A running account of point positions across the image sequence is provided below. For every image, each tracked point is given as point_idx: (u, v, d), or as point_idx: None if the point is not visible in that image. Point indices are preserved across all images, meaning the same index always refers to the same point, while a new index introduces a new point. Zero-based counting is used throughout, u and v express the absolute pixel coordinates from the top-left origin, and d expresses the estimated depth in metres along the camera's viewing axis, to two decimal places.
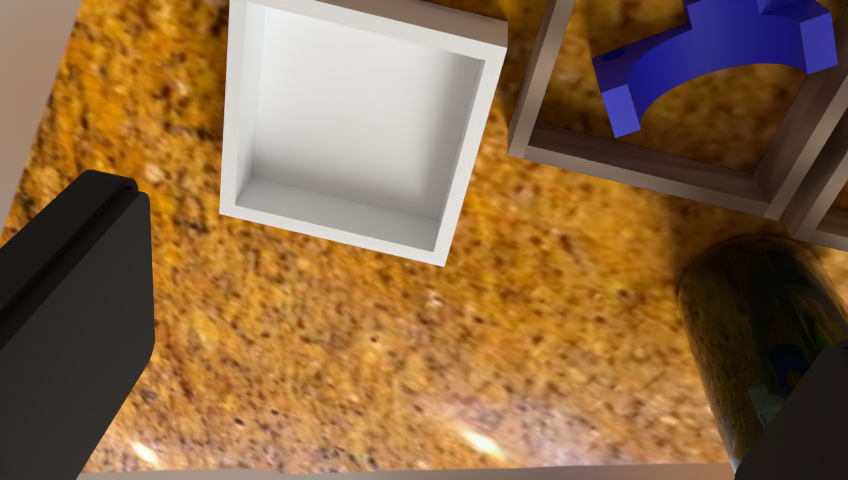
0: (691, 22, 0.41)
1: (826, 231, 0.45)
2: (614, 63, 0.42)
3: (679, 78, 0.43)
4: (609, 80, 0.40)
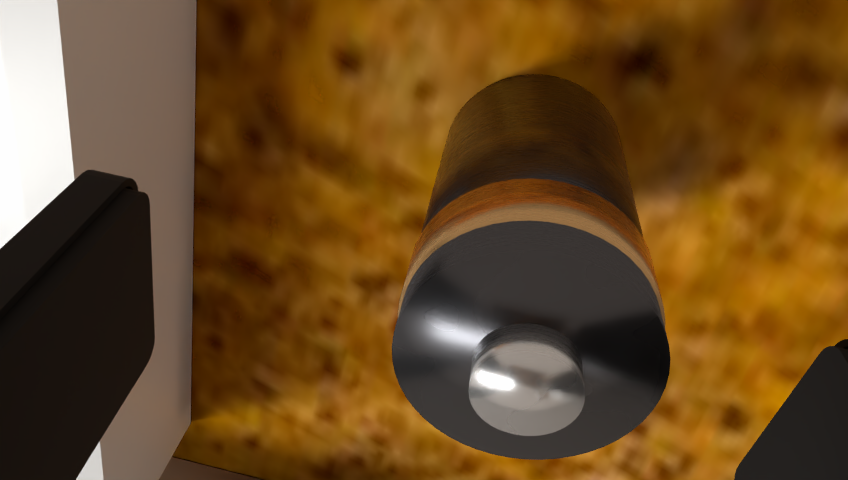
0: None
1: None
2: None
3: None
4: None
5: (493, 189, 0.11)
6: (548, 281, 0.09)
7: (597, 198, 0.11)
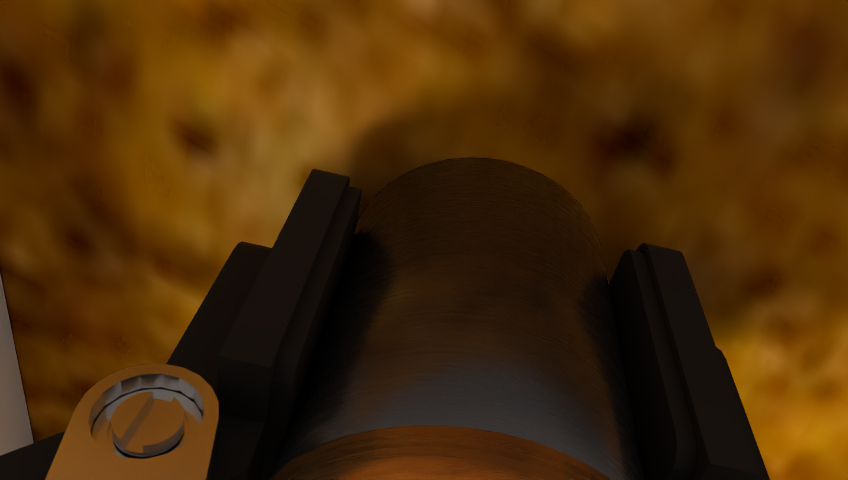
0: None
1: None
2: None
3: None
4: None
5: (370, 449, 0.06)
6: None
7: (562, 458, 0.06)
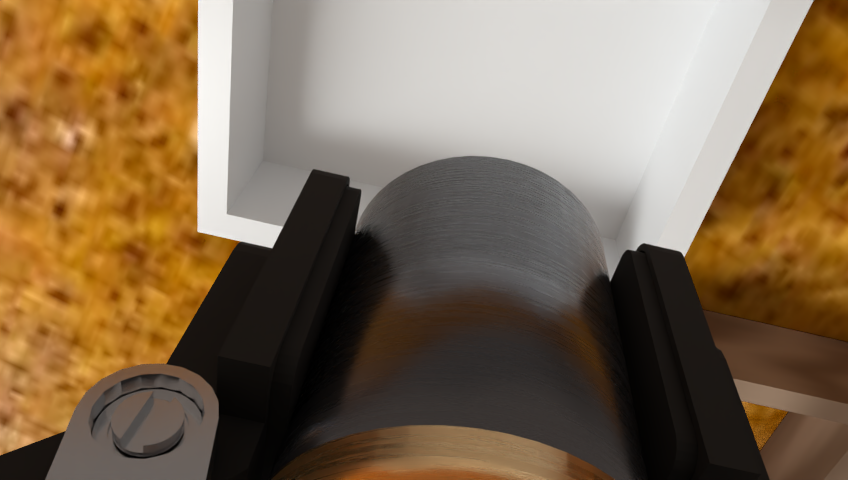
0: None
1: None
2: None
3: None
4: None
5: (372, 449, 0.06)
6: None
7: (565, 458, 0.06)
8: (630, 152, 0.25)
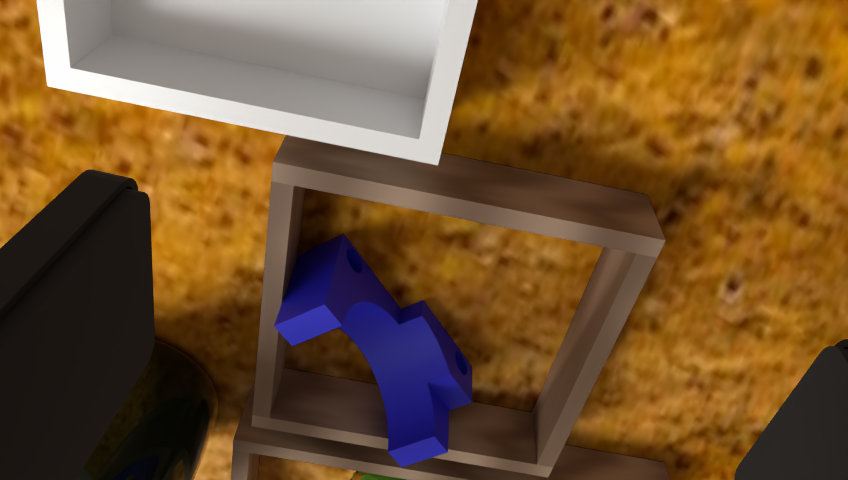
0: (405, 322, 0.39)
1: (248, 459, 0.43)
2: (350, 274, 0.36)
3: (346, 327, 0.39)
4: (336, 294, 0.34)
5: None
6: None
7: None
8: (424, 16, 0.29)
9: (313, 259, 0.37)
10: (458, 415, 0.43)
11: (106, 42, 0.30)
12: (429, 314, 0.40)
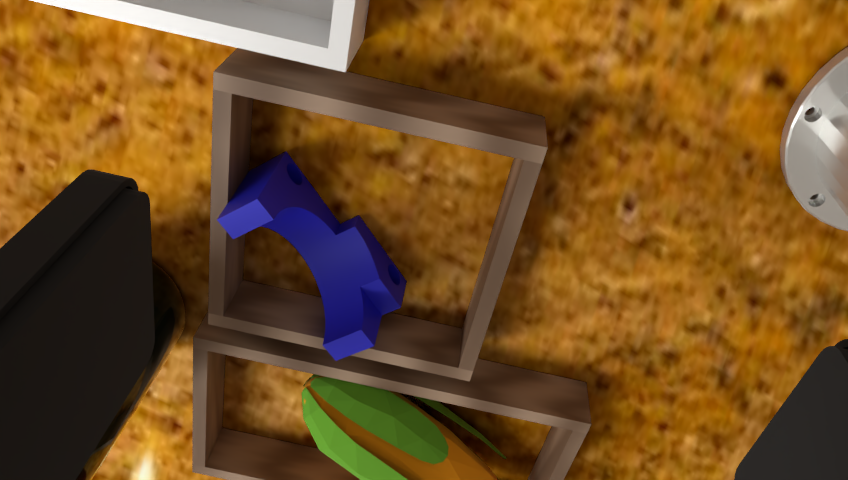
0: (341, 232, 0.44)
1: (207, 358, 0.48)
2: (288, 183, 0.42)
3: (290, 236, 0.45)
4: (271, 195, 0.40)
5: None
6: None
7: None
8: None
9: (258, 172, 0.43)
10: (393, 326, 0.48)
11: None
12: (363, 227, 0.45)
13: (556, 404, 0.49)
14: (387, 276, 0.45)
